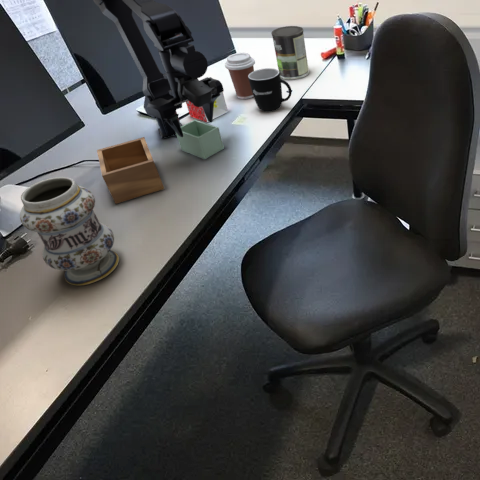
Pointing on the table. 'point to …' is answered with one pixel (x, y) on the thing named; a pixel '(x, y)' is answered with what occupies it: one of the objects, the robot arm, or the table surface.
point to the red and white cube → (218, 109)
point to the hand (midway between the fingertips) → (196, 129)
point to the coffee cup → (241, 73)
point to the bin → (200, 139)
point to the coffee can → (290, 52)
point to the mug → (267, 89)
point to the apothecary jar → (69, 230)
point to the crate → (129, 170)
